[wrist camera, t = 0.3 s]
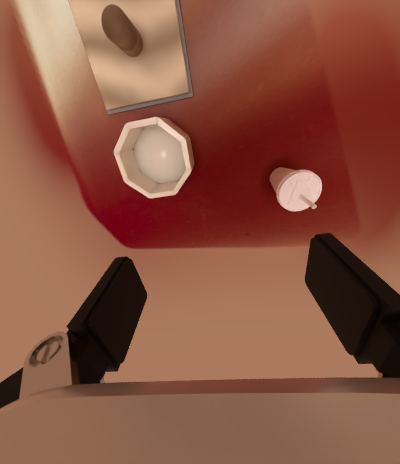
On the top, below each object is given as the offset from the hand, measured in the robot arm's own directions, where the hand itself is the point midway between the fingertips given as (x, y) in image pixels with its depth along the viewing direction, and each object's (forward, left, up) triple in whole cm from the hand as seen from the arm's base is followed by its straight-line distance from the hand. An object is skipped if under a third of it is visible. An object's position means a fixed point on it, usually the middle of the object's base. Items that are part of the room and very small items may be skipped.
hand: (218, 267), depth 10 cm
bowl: (-3, -9, -30) cm, 31 cm away
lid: (-19, -9, -29) cm, 36 cm away
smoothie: (+4, +13, -30) cm, 33 cm away
